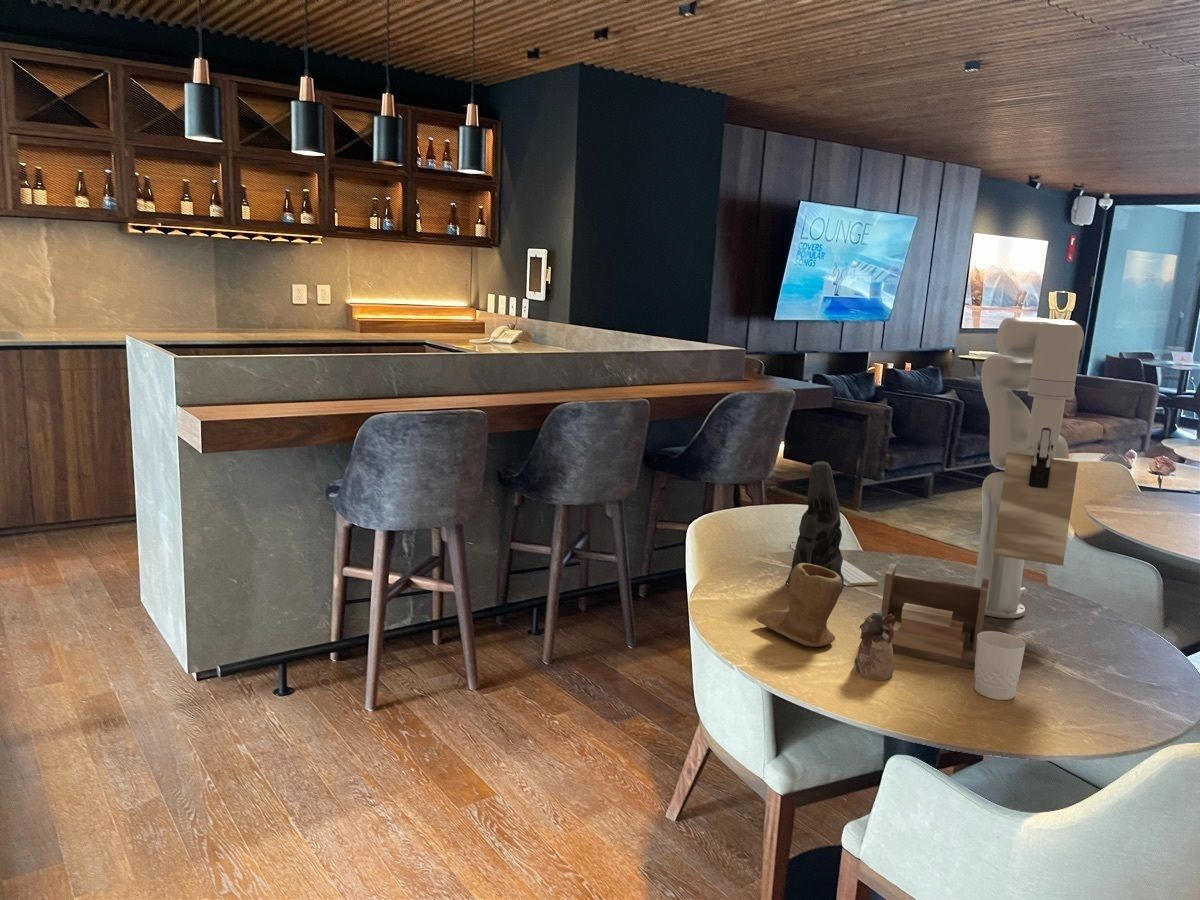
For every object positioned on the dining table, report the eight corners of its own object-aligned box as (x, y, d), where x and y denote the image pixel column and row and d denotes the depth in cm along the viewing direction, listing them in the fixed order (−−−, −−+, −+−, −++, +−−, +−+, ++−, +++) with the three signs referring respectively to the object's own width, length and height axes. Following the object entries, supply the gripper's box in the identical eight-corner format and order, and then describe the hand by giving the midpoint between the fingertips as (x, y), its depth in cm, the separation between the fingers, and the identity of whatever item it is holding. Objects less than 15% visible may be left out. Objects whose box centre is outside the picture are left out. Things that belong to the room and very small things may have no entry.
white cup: (995, 705, 153) (1002, 651, 151) (960, 685, 160) (967, 634, 158) (1028, 698, 156) (1035, 645, 154) (992, 679, 163) (999, 628, 161)
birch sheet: (994, 552, 172) (1007, 452, 168) (1062, 562, 167) (1077, 460, 163) (993, 555, 171) (1006, 454, 167) (1062, 565, 165) (1078, 462, 162)
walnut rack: (883, 626, 187) (890, 563, 184) (980, 645, 179) (989, 579, 176) (873, 648, 175) (880, 581, 172) (976, 670, 167) (985, 600, 164)
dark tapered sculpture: (775, 577, 215) (784, 457, 210) (825, 574, 219) (836, 456, 213) (802, 597, 202) (813, 470, 197) (855, 593, 206) (868, 468, 200)
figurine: (860, 660, 169) (866, 601, 167) (897, 671, 165) (904, 610, 163) (847, 673, 163) (853, 612, 161) (886, 684, 159) (892, 622, 157)
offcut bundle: (894, 635, 178) (897, 600, 177) (962, 648, 173) (967, 612, 171) (890, 643, 174) (894, 608, 172) (961, 658, 168) (965, 621, 167)
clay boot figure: (849, 643, 177) (856, 572, 174) (806, 655, 171) (813, 581, 168) (795, 618, 190) (801, 551, 187) (754, 627, 183) (759, 559, 180)
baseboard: (840, 589, 210) (877, 587, 213) (841, 577, 210) (879, 576, 212) (786, 550, 239) (819, 549, 241) (786, 540, 238) (820, 539, 241)
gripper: (1029, 383, 171) (1016, 475, 175) (1028, 391, 157) (1015, 491, 161) (1072, 386, 168) (1058, 480, 171) (1076, 395, 154) (1061, 497, 157)
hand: (1037, 485), depth 166 cm, fingers closed on birch sheet, 2 cm apart
